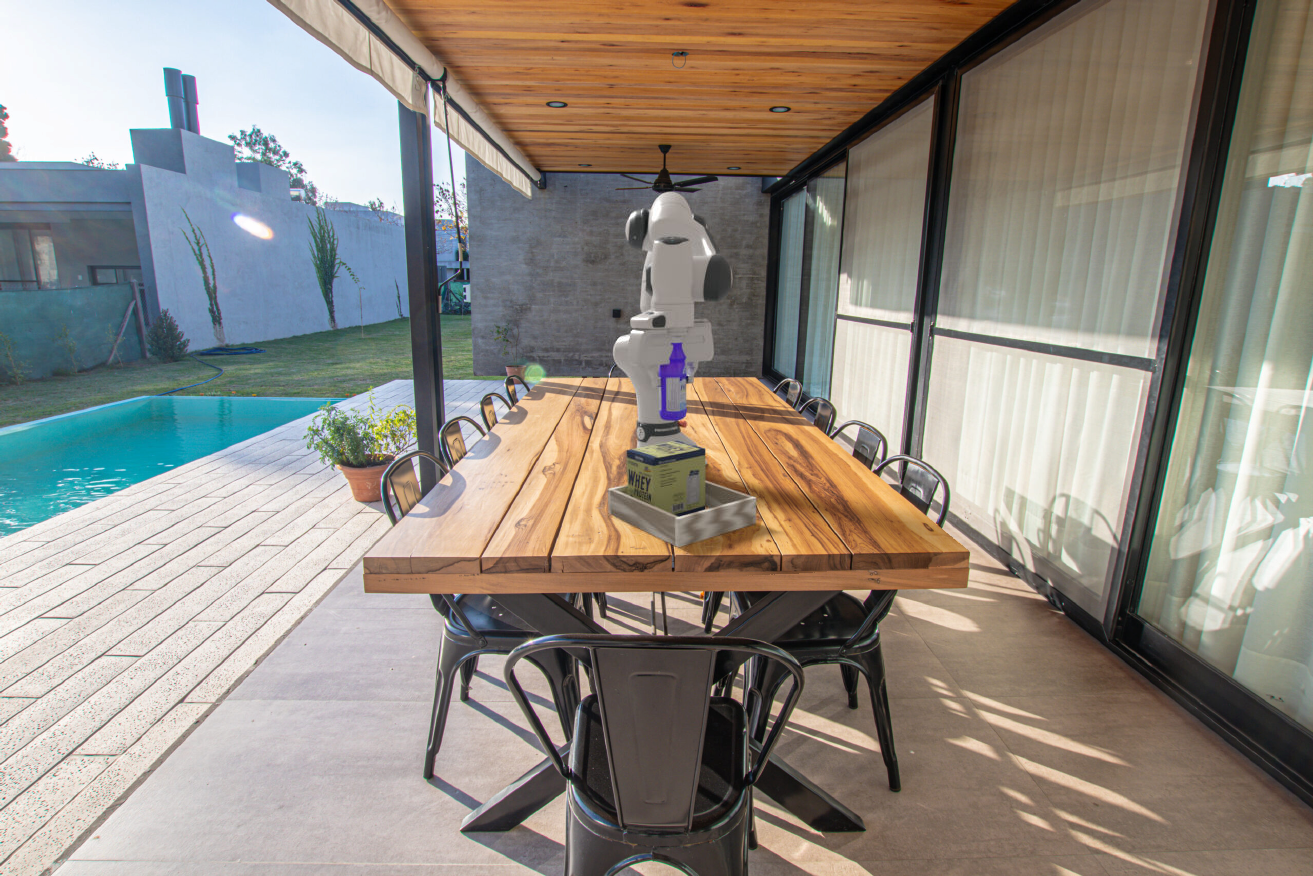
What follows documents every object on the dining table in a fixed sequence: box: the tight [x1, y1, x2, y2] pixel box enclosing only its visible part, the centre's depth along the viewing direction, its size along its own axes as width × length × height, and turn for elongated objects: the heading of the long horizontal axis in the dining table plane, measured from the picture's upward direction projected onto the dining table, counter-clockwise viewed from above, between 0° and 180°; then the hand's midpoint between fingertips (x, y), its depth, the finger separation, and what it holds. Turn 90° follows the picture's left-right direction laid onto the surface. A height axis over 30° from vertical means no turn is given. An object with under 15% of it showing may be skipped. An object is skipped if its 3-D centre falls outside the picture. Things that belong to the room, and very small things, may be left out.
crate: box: [607, 480, 757, 548], centre depth 145 cm, size 22×26×6 cm
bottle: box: [658, 337, 688, 421], centre depth 134 cm, size 7×6×17 cm
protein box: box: [626, 441, 706, 517], centre depth 148 cm, size 10×16×16 cm
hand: (672, 385), depth 135 cm, fingers closed on bottle, 7 cm apart
